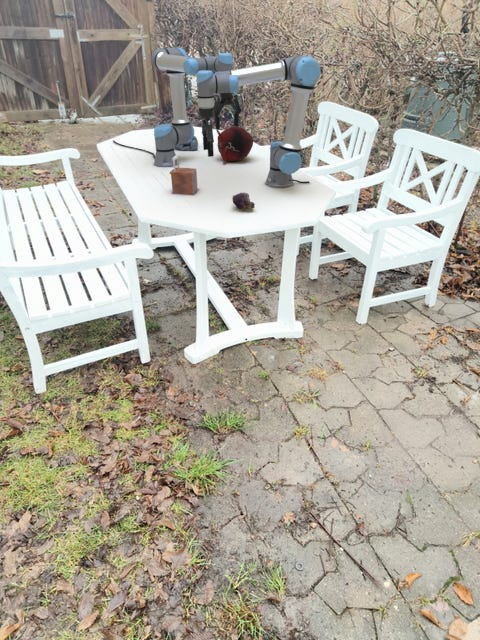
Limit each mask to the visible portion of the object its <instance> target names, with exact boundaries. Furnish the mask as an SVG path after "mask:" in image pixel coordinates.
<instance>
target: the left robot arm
mask: <svg viewBox="0 0 480 640" xmlns="http://www.w3.org/2000/svg"><path fill="white" fill-rule="evenodd" d="M150 61H151V65H152V67H153V68H154V69H155V70H157V71H159V72H166V75H167V76H168V79H169V88H170V96H171V97H170V98H171V107H172V116H173V119H172V121H171V123H161V124H159V125H156V126H155V127H154V129H153V136H154V145H155V153H154V152H151V151H149V150H146V149H142V148H139V147H133V146H128V145H125V144H122V143H118V142H117V141H115V140H112V142H113V143H115V144H116V145H119V146H122V147H125V148H129V149H134V150H137V151H138V150H139V151H142V152H147V153H148V154H151V155H153V159H154V165H155V166H157V167H163V168H164V167H165V168H167V167H168V168H169V167H174V166H173V160H172V158H173V157H174V156H176V155H177V153H176V151H175V147H174V145H178V144H183V143H188V142H191V141H192V139H193V138H194V136H195V127H194V125H193V124H192V123H191V121H190V119H188V114H187V101H186V91H185V89H186V88H185V80H184V79H185V78H184V76H185V74H186V75H189V76H194V75H197V72H198V71H212V73H213V74H215V73H216V72H218V71H223V72H224V71H230V70H234V59H233V54H232V53H230V52H220V53H218V56H214V55H209V56H208V55H207V56H203V57H202V56H201V57H191V56H188V54H187V52H186V51H185V49H184V48H182V47H176V46H175V47H162V48H161V47H160V48H157V49H155V50H154V51H153V52H152V53H151V57H150ZM225 106H230V107H231V109H232V111H233V112H234V113H233V127H239V119H240V114H241V113H242V112H243V109H242V107H241V104H240V102H239V99H238V94H234V92H232V93H219V96H215V98H214V107H213V108H214V116H213V118H214V124H215V130H218V131H220V130H221V124H220V123H221V122H220V114H221V112H222V110H223V109H224V107H225ZM175 166H177V159H176V160H175Z"/></svg>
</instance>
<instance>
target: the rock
mask: <svg viewBox="0 0 480 640" xmlns="http://www.w3.org/2000/svg"><path fill="white" fill-rule="evenodd" d="M232 204H233V205H234V206H235V208H236V209H237V210H239V211H245V210H253V209H255V205H256V203H254V202H253V201H251V198H250V194H249V193H248V192H238V193H236V194H234V195H233V196H232Z"/></svg>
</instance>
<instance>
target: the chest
mask: <svg viewBox="0 0 480 640" xmlns="http://www.w3.org/2000/svg"><path fill="white" fill-rule="evenodd" d="M197 173H198V172H197V170H196V171H195V172H194V173H193V174H192V175H177V174H170V178H171V179H170V180H171V191H172V194H174V195H175V194H176V195H191V196H194V194H195V193H196V192H197V191H198V190H199V189H198V188H199V187H198V174H197Z"/></svg>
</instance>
